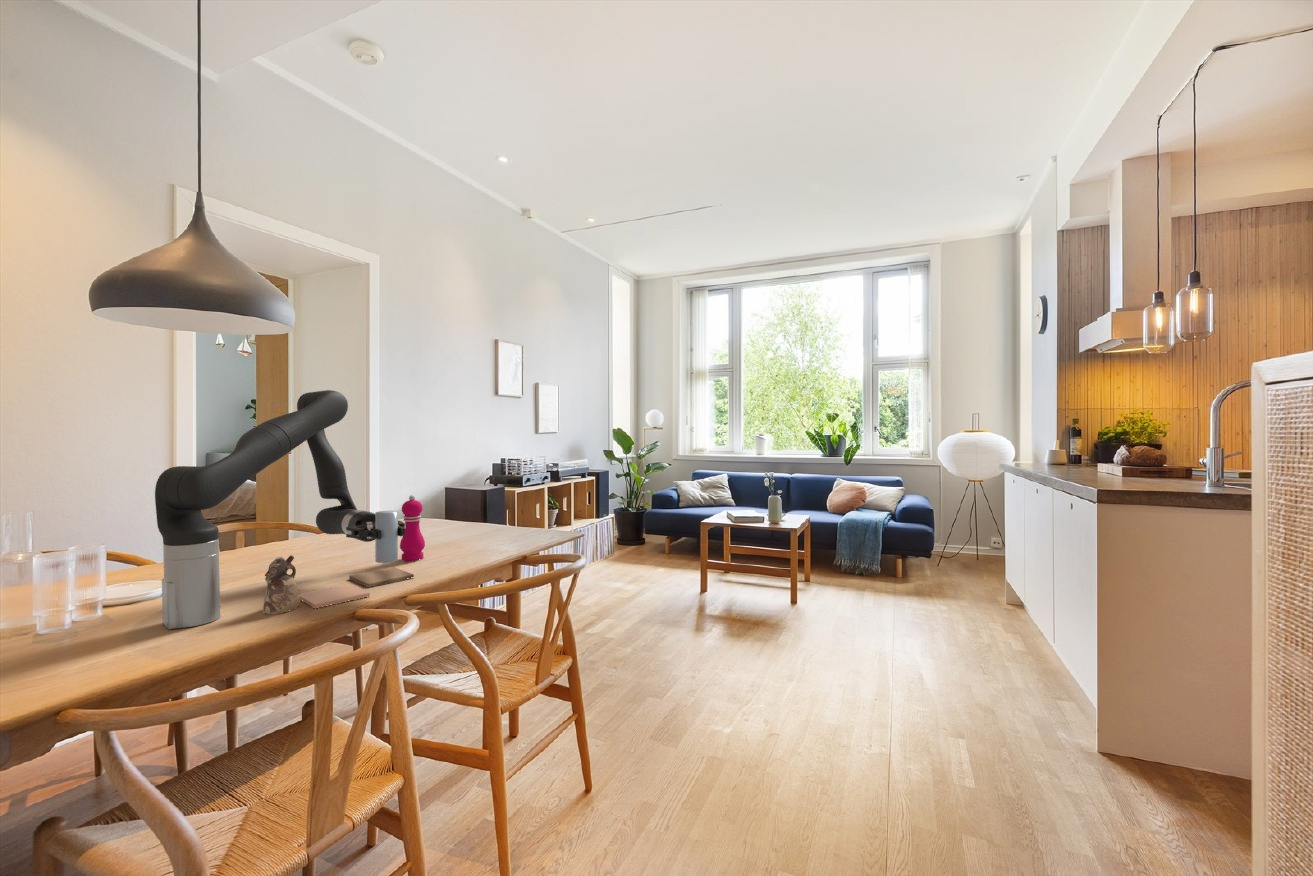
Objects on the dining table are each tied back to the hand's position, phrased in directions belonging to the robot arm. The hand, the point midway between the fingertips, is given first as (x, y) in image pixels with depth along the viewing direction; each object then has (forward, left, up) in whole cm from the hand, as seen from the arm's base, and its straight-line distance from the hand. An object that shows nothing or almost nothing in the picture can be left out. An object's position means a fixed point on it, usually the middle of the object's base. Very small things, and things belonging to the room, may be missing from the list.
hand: (391, 533), depth 139 cm
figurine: (-21, +10, -16) cm, 28 cm away
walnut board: (+5, +18, -16) cm, 24 cm away
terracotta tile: (-10, +10, -16) cm, 21 cm away
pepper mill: (+21, +33, -16) cm, 42 cm away
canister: (0, +3, -7) cm, 7 cm away
